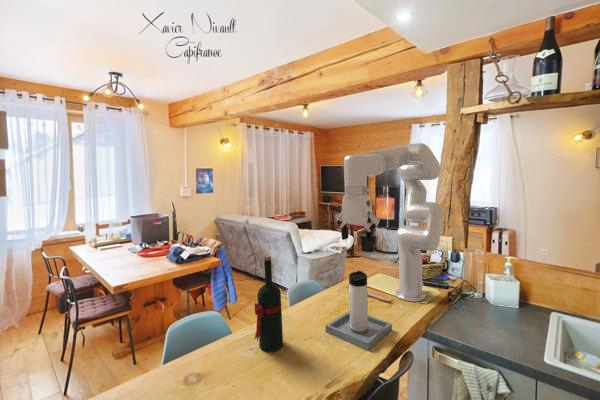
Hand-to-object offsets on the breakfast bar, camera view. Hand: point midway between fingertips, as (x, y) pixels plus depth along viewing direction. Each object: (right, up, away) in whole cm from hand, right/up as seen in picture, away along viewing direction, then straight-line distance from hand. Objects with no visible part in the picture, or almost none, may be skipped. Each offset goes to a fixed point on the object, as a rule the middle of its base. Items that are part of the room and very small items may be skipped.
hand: (356, 240), depth 104 cm
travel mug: (+1, -32, +2) cm, 32 cm away
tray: (+1, -32, +2) cm, 32 cm away
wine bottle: (-30, -34, -6) cm, 46 cm away
